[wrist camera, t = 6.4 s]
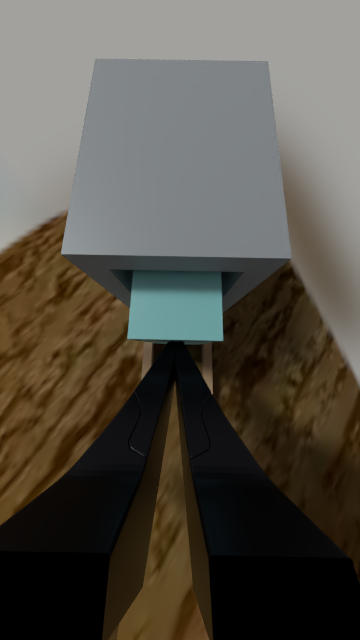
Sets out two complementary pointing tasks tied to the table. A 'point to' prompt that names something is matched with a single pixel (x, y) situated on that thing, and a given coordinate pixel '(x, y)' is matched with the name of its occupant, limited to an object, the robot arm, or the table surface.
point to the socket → (178, 175)
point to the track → (206, 361)
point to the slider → (176, 306)
